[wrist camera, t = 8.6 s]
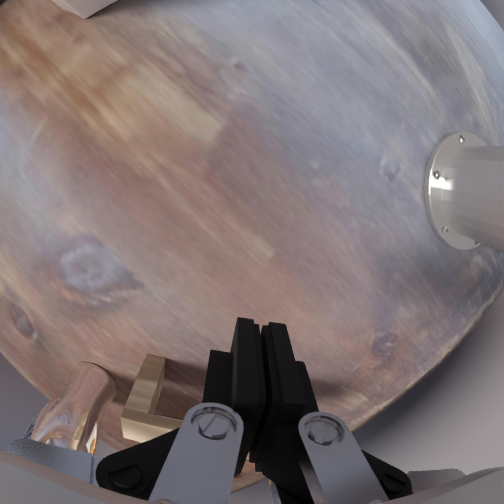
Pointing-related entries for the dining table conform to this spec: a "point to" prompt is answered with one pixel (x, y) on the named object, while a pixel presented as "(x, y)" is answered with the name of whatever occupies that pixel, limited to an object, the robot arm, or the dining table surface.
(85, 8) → the jar
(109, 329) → the dining table surface
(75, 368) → the beer glass
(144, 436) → the bridge
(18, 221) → the dining table surface
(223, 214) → the dining table surface
